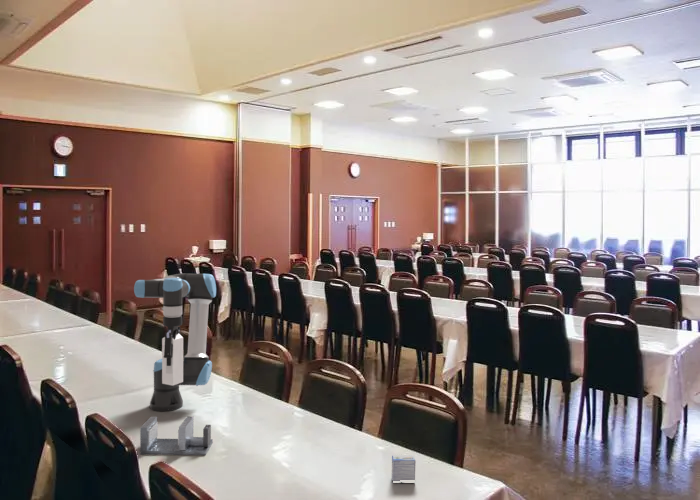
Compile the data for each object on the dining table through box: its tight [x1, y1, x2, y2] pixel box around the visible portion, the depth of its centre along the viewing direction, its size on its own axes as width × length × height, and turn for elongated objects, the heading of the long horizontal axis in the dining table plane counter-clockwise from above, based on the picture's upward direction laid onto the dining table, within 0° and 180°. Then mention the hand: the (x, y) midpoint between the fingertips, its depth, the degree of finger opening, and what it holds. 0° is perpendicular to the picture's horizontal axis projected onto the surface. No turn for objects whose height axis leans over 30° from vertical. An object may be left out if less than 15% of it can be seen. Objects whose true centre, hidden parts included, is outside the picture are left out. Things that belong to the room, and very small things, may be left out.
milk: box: [161, 333, 184, 386], centre depth 236 cm, size 6×6×22 cm
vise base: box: [139, 416, 214, 456], centre depth 225 cm, size 12×25×10 cm, turn 91°
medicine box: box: [391, 454, 417, 481], centre depth 201 cm, size 8×4×9 cm, turn 92°
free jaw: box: [177, 415, 212, 450], centre depth 225 cm, size 12×11×9 cm
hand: (172, 370), depth 236 cm, fingers closed on milk, 8 cm apart
